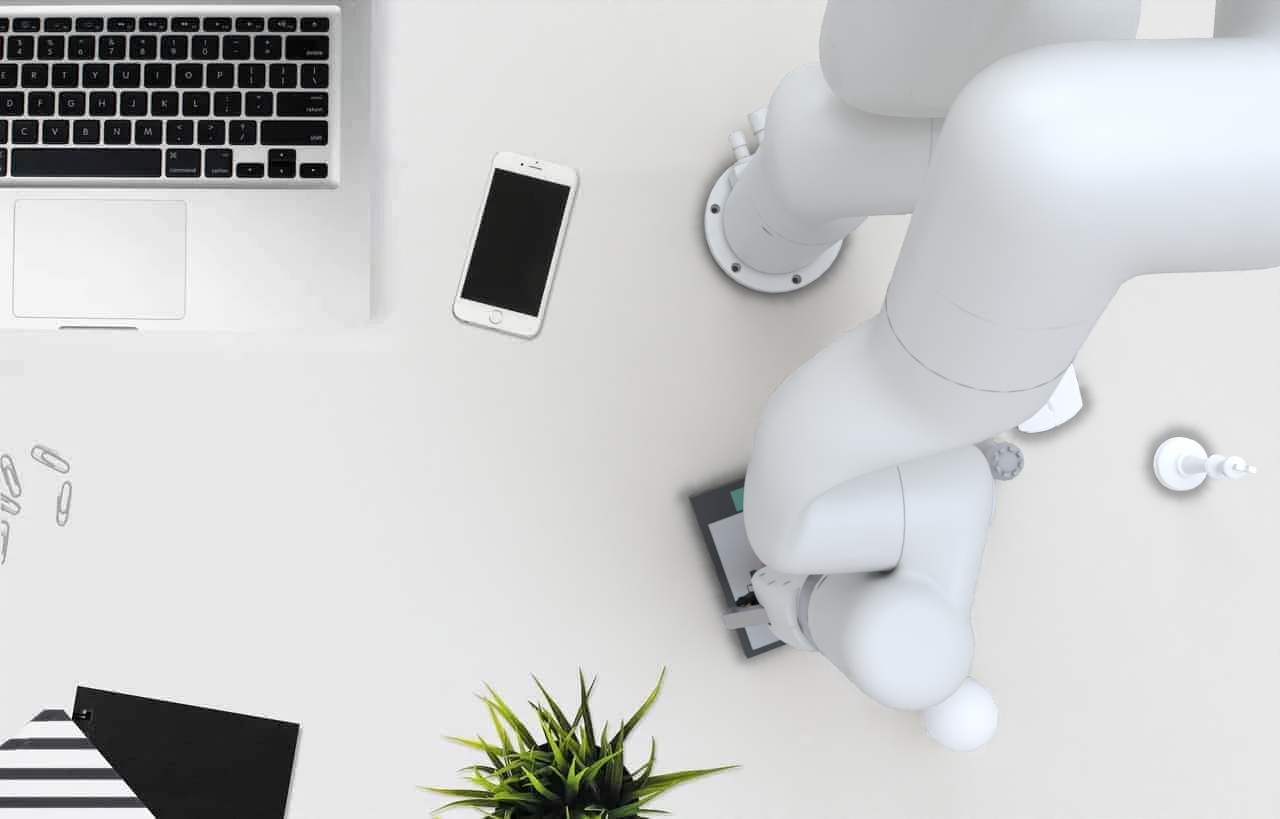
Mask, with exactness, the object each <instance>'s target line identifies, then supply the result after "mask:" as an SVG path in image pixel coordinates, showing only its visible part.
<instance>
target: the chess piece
mask: <svg viewBox="0 0 1280 819" xmlns="http://www.w3.org/2000/svg"><path fill="white" fill-rule="evenodd" d="M1152 466H1153V472H1154V475H1155V477H1156V479H1157V480H1158V482H1159V483H1160V484H1162V485H1163V486H1164V487H1165V488H1167V489H1169V490H1172V491H1175V492H1182V491H1190V490H1192V489H1195V488H1196V487H1198V486H1200V485H1201V484H1202V482H1204V480H1205V479H1206V477H1207V476H1209V477H1210V478H1211V479H1214V480H1221V479H1223V478H1227V479H1229V480H1232V481H1238V480H1240V479H1241V480H1242V478H1244V477H1245V475H1246V473H1250V474H1256V473H1257V467H1255V466H1251V465H1247V463H1246V461H1245V459H1244V458H1242V457H1241V456H1238V455H1231V456H1228V457H1226V456H1224V455H1222V454H1219V453H1217V454H1212V455H1210V456H1209V457H1208V454H1207V452H1206V450H1205V449H1204V446H1202V445H1201V444H1200V443H1198V442H1197V441H1196V440H1194V439H1191V438H1188V437H1183V436H1176V437H1175V436H1174V437H1171V438H1169V439H1167V440H1165V441H1163V442H1162V443H1161V444H1160V445H1159V446H1158V447H1157V449H1156V451H1155V453H1154V456H1153V461H1152Z"/></svg>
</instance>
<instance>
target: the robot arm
mask: <svg viewBox="0 0 1280 819" xmlns="http://www.w3.org/2000/svg"><path fill="white" fill-rule="evenodd" d="M1214 8H1215V9H1214V19H1213V32H1212V33H1213V34H1212V37H1186V38H1185V37H1183V38H1180V37H1179V38H1137V33H1138V30H1139V25H1140V19H1141V14H1142V0H827V1H826V5H825V9H824V14H823V18H822V22H821V25H820V32H819V38H818V39H819V40H818V51H819V61H815V62H810V63H806V64H804V65H801V66H798V67H797V68H794V69H792V70H791V71H790V72H788V73H787V74H786V75H785V76H783V78H781V80H780V82H779V83H778V84H777V86H776V87H775V89H774V91H773V93H772V95H771V97H770V100H769V104H768V107H767V106H766V107H761V108H758V109H755V110H753V111H751V112H750V113H748V114H747V116H746V117H747V120H748V122H749V125H750V128H751V130H752V133H753V135H754V137H755V139H756V142H757V144H758V148H756V151H755V152H754V153H752V154H750V151H749V148H748V143H747V139H746V137H745V135H744V132H743V130H738V131H736V132H733V133H731V134H729V135H728V136H727V138H728V141H729V144H730V146H731V150H732V152H733V154H734V156H735V160H736V161H735V162H734V163H733V164H732V165H730V166H729V167H728V168H727V169H726V170H725V171H724V172H723V173H722V175H721V176H720V177H718V179H717V180H716V182H715V184H714V185H713V188H712V189H711V191H710V193H709V196H708V198H707V202H706V205H705V210H704V217H703V218H704V219H703V220H704V222H703V223H704V224H703V227H704V234H705V240H706V243H707V246H708V247H709V252H710V254H711V255H712V257H713V258H714V260H715V262H716V263H717V265H718V266H719V267H720V269H722V271H723V272H724V273H725V275H726V276H728V277H730V278H731V279H732V280H734V281H735V282H736V283H737V284H740V285H742V286H744V287H746V288H748V289H750V290H754V291H757V292H760V293H770V294H778V293H779V294H780V293H788V292H792V291H796V290H800V289H801V288H803V287H806V286H808V285H809V284H811V283H813V282H814V281H815V280H817V279H818V278H820V277H821V276H822V275H823V274H824V273H825V272H826V271H828V270H829V269H830V267H831V265H832V264H833V263H834V261H835V260H836V259H837V257H838V255H839V253H840V251H841V248H842V246H843V243H844V239H845V238H846V237H848V235H850V234H851V233H852V232H854V231H855V230H857V229H858V228H859V227H860V226H861V225H862V224H863V223H864V222H865V221H866V220H867V219H868V218H869V217H875V216H876V217H877V216H878V217H879V216H906V215H911V217H910V220H909V224H908V227H907V230H906V233H905V235H904V239H903V241H902V245H901V247H900V251H899V253H898V257H897V260H896V261H895V265H894V267H893V271H892V275H891V277H890V280H889V283H888V285H887V289H886V291H885V295H884V297H883V302H882V305H881V308H880V311H879V313H877V314H876V315H874V316H872V317H871V318H869V319H867V320H865V321H863V322H861V323H859V324H858V325H856V326H854V327H852V328H851V329H849V330H848V331H847V332H844V334H842V335H840V336H838V337H837V338H835V339H834V340H833V341H832V342H830V343H829V344H827V345H825V347H823V348H822V349H821V350H820V351H818V352H816V354H814V355H813V356H812V357H811V358H809V359H808V360H807V361H805V362H804V363H803V364H801V366H798V367H797V368H796V369H795V370H794V371H793V372H792V373H791V374H789V375H788V376H787V377H785V379H784V380H783V381H782V382H781V383H780V384H779V385H778V387H776V389H775V390H774V391H773V392H772V393H771V395H770V397H769V398H768V399H767V401H766V403H765V404H764V406H763V408H762V411H761V413H760V415H759V417H758V420H757V424H756V426H755V430H754V434H753V440H752V445H751V449H750V452H749V458H748V463H747V469H746V473H745V476H746V478H745V485H744V500H743V514H744V523H745V528H746V533H747V537H748V540H749V543H750V545H751V547H752V549H753V550H754V552H755V554H756V555H757V557H758V558H759V559H760V560H761V561H762V562H763V563H764V564H765V565H767V566H766V567H764V568H762V569H760V570H757V571H756V570H753V571H750V575H751V578H752V579H751V582H752V583H751V584H749V585H747V589H748V592H749V593H747V594H746V595H744V596H741V597H739V598H738V600H737V601H735V603H736V606H734V607H731V608H730V609H728V608H727V610H725V611H724V612H723V613H721V617H722V620H723V623H724V625H725V628H726V630H728V631H730V630H735V629H737V628H743V627H749V626H755V625H761V624H767V626H768V629H769V630H770V631H771V632H772V633H773V634H774V635H775V636H776V637H777V638H779V639H780V640H782V641H783V642H785V643H786V645H789V646H791V647H793V648H795V649H798V650H801V651H806V652H809V653H817V652H819V653H820V654H821V655H822V656H823V657H825V659H826V660H827V661H828V662H830V663H831V665H833V666H834V667H835V668H836V669H837V670H839V672H840V673H841V674H843V676H845V677H846V678H847V679H848V680H849V681H850V682H851V683H852V684H853V685H854V686H855V687H856V688H857V689H858V690H860V692H862V693H864V694H865V695H866V696H867V697H868V698H869V699H871V700H872V701H874V702H876V703H877V704H879V705H881V706H884V707H886V708H889V709H893V710H897V711H904V712H905V711H906V712H911V711H921V710H922V709H926V708H930V707H933V706H935V705H937V704H940V703H942V702H943V701H945V700H946V699H948V698H949V697H951V696H952V695H953V694H954V693H955V692H956V691H957V690H958V689H959V688H960V687H961V685H962V684H963V682H964V681H965V679H966V678H967V676H968V677H969V674H970V671H971V669H972V665H973V662H974V658H975V649H976V648H975V647H976V642H975V633H974V629H973V625H972V622H971V620H972V619H971V618H972V611H973V606H974V601H975V595H976V591H977V590H976V589H977V584H978V580H979V574H980V569H981V565H982V560H983V558H984V552H985V547H986V542H987V539H988V533H989V529H990V528H991V526H992V523H993V522H994V519H995V518H994V517H995V514H996V508H997V488H996V482H995V478H994V477H993V476H992V474H991V471H990V467H989V464H988V462H987V459H986V458H985V456H984V455H983V453H982V452H981V451H980V450H979V449H978V448H977V447H976V446H974V445H973V444H975V443H978V442H981V441H983V440H986V439H988V438H990V439H992V438H994V437H996V436H998V435H1001V434H1004V433H1006V432H1008V431H1010V430H1012V429H1014V428H1016V427H1018V425H1020V424H1021V423H1023V422H1025V421H1026V420H1028V419H1030V418H1031V417H1033V416H1034V415H1035V414H1036V413H1037V412H1038V411H1039V410H1040V409H1041V408H1042V407H1043V406H1044V405H1045V404H1046V403H1047V402H1048V401H1049V399H1050V398H1051V397H1052V395H1053V393H1054V392H1055V390H1056V388H1057V387H1058V385H1059V383H1060V381H1061V380H1062V378H1063V376H1064V374H1065V373H1066V371H1067V370H1068V368H1069V367H1070V365H1071V363H1073V362H1074V360H1075V359H1076V357H1077V355H1078V353H1079V351H1080V350H1081V348H1082V347H1083V345H1084V343H1085V341H1086V340H1087V339H1088V337H1089V335H1090V333H1091V332H1092V330H1093V329H1094V328H1095V326H1096V324H1097V323H1098V321H1099V320H1100V318H1101V317H1102V316H1103V313H1104V312H1105V310H1106V309H1107V307H1108V305H1109V304H1110V303H1111V301H1112V300H1113V299H1114V298H1115V296H1116V295H1117V293H1118V291H1119V289H1120V287H1121V286H1122V285H1123V284H1125V283H1126V282H1128V281H1130V280H1131V279H1134V278H1136V277H1140V276H1145V275H1159V274H1185V273H1186V274H1187V273H1192V274H1193V273H1217V272H1218V273H1219V272H1220V273H1221V272H1242V271H1244V272H1245V271H1257V270H1258V271H1259V270H1268V269H1273V268H1277V267H1280V0H1215V7H1214ZM713 209H714V210H716V212H713V211H712V210H713ZM733 267H735V268H736V271H734V270H733ZM793 279H796V282H794V281H793Z"/></svg>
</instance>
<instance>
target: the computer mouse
mask: <svg viewBox="0 0 1280 819" xmlns="http://www.w3.org/2000/svg"><path fill="white" fill-rule="evenodd" d="M1076 374H1077V373H1076V371H1075V366H1074V364H1073V362H1072V363H1071V365H1070V367H1069V368H1068V370H1067V371H1066V373H1065V374H1064V376H1063V378H1062V380H1061V381H1060V383H1059V385H1058V387H1057V388H1056V390H1055V392H1054V393H1053V395H1052V397H1051V398H1050V399H1049V401H1048V402H1047V403H1046V404H1045V405H1044V406H1043V407H1042V408H1041V409H1040V410H1039V411H1038V412H1037V413H1036V414H1035V415H1034V416H1033V417H1031V418H1030V419H1028V420H1026V421H1025V422H1023V423H1021V424H1020V425H1018V426H1017V428H1018V431H1020V432H1022V433H1023V432H1025V433H1026V434H1036V433H1040V432H1041V433H1042V432H1046V431H1049V430H1051V429H1054V428H1055V427H1059V426H1061V425H1062V424H1064V423H1066V422H1068V421H1070V419H1072V418H1073V417H1074V416H1076V415H1077V413H1078V412H1080V410H1081V409H1082V407H1084V406H1083V404H1084V403H1083V400H1082V395H1081V391H1080V387H1079V382H1078V379H1077V378H1078V377H1077V375H1076Z"/></svg>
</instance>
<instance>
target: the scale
mask: <svg viewBox="0 0 1280 819" xmlns="http://www.w3.org/2000/svg"><path fill="white" fill-rule="evenodd" d="M745 478H746V475H744V476H741V477H739V478H736V479H733V480H731V481H728V482H725V483H722V484H719V485H716V486H714V487H711V488H709V489H706V490H703V491H701V492H697V493H695V494H692V495H689V496H688V500H689V503H690V506H691V509H692V511H693V515H694V517H695V520H696V523H697V526H698V529H699V531H700V534H701V537H702V540H703V542H704V545H705V548H706V551H707V554H708V556H709V560H710V562H711V565H712V568H713V571H714V574H715V576H716V579H717V582H718V585H719V587H720V590H721V593H722V596H723V599H724V602H725V604H726V607H727V610H728V609H730V608H731V607H734V606H736V603H735V601H737V600H738V598H739V597H741V596H744V595H746V594H747V593H749V592H748V589H747V585H749V584H751V583H752V582H751V579H752V578H751V575H750V571H753V570H756V571H757V570H760V568H761V560H760V559H759V558H758V557H757V555H756V554H755V552H754V550H753V549H752V547H751V545H750V543H749V540H748V537H747V533H746V528H745V523H744V514H743V500H744V485H745ZM734 630H735V632H736V635H737V639H738V641H739V644H740V646H741V649H742V652H743V655H744V656H745V658H746V659H750V658H753V657H756V656H759V655H761V654H762V655H763V654H764V653H767V652H770V651H772V650H775V649H778V648H781V647H783V646H785V645H787V644H786V643H785V642H783V641H782V640H780V639H779V638H777V637H776V636H775V635H774V634H773V633H772V632H771V631H770V630H769V629H768V626H767V624H761V625H755V626H749V627H743V628H737V629H734Z"/></svg>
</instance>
